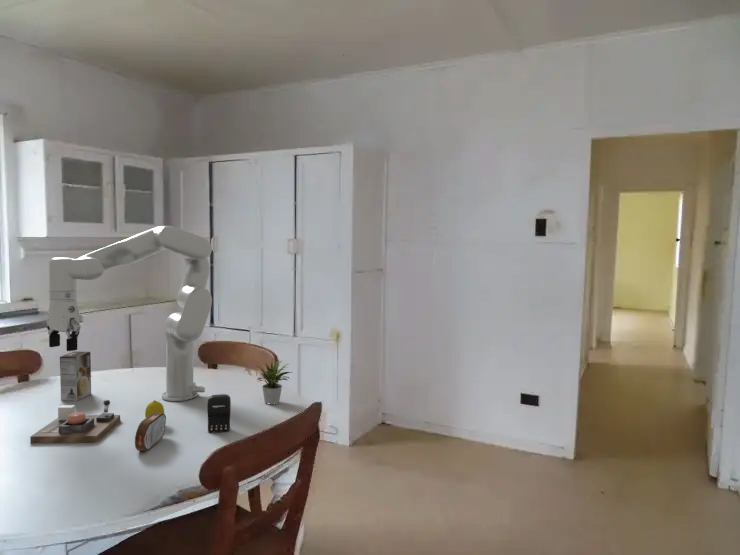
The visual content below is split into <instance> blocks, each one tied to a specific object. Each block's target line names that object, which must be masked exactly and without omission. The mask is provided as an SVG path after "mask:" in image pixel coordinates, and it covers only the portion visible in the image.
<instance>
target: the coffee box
mask: <svg viewBox="0 0 740 555" xmlns="http://www.w3.org/2000/svg"><path fill="white" fill-rule="evenodd" d="M91 363H92V362H91V351H71V352H69V353H67V354H64V355H61V356H59V371H60V372H59V374H60V375H59V377H60V378H59V379H60V383H59V384H60V401H71V400H74V401H73V402H77V401H79V400H82V399H83V398H85V397H88V396H89V395H91V394H92V367H91V366H92V364H91Z"/></svg>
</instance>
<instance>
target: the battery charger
mask: <svg viewBox="0 0 740 555" xmlns="http://www.w3.org/2000/svg"><path fill="white" fill-rule="evenodd" d="M206 404H207V406H206V408H207V411H206V412H207V432H208V433H212V432H214V433H226V431H227V432H229V431H230V430H231V412H232V410H231V409H232V400H231V396H230V395H229V394H228V393H216V394H215V393H213V394H211V395H209V396H208V398H207V403H206Z"/></svg>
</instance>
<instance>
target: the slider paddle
mask: <svg viewBox="0 0 740 555" xmlns="http://www.w3.org/2000/svg"><path fill="white" fill-rule="evenodd" d="M72 413H76V404H62V405H60V406H58V407H57V415H58V416H57V418H58V420H68V415H69V414H72Z"/></svg>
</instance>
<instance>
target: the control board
mask: <svg viewBox="0 0 740 555" xmlns="http://www.w3.org/2000/svg"><path fill="white" fill-rule="evenodd" d="M120 421H121V414H115V413H114V412H108V413H104V412H102V413H100V414H94V415H93V414H86V421H85V422H83V423H79V424H69V423H68V420H58V417H56V418H55V419H54V420H52V421H51V422H49V423H48V424H46V425H44V426H43V427H42V428H41V429H39V430H38V431H36V432H35V433H33V434H32V435H31V436H29V437H30V438H29V439H30V444H82V443H83V444H93V443H95V444H97V443H98V442H99V441H100V440H102V438H103V437H105V436H106V435H107V434H108V433H109V432H110V431H111V430H112V429H113V428H114V427H116V426H117V425H118V424H119V423H120Z"/></svg>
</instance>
